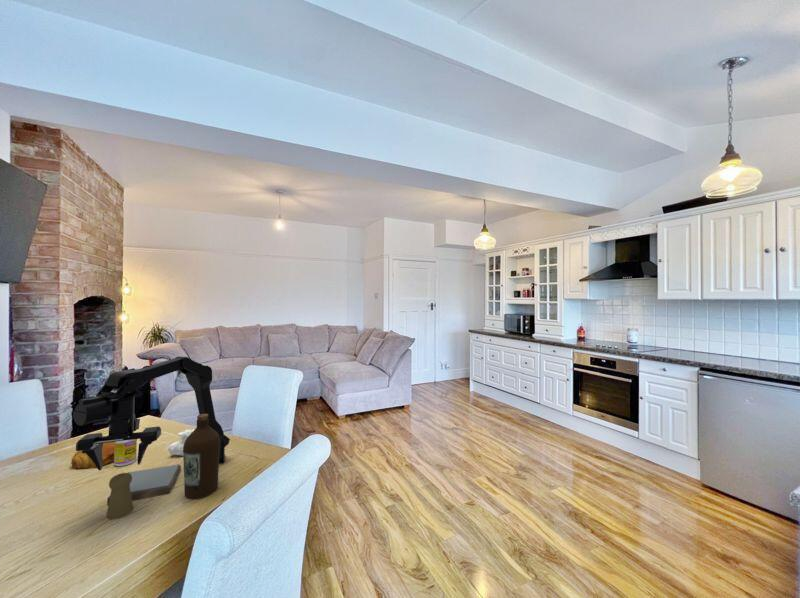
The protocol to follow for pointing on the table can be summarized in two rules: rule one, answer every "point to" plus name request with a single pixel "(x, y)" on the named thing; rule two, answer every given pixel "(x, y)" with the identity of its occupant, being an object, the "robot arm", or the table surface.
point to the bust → (179, 443)
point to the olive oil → (201, 460)
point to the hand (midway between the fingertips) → (120, 466)
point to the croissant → (85, 461)
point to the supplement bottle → (125, 452)
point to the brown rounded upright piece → (120, 496)
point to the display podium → (152, 481)
